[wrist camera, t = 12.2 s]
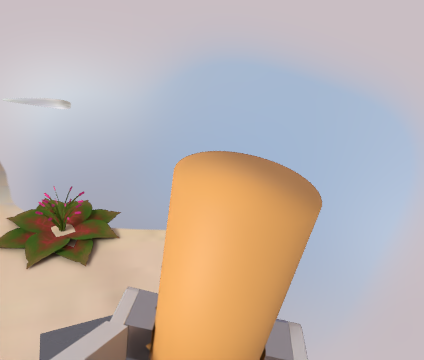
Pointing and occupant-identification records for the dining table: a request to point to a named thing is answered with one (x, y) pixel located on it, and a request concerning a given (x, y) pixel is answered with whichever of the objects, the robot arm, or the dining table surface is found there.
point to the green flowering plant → (59, 216)
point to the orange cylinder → (229, 254)
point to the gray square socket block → (67, 338)
